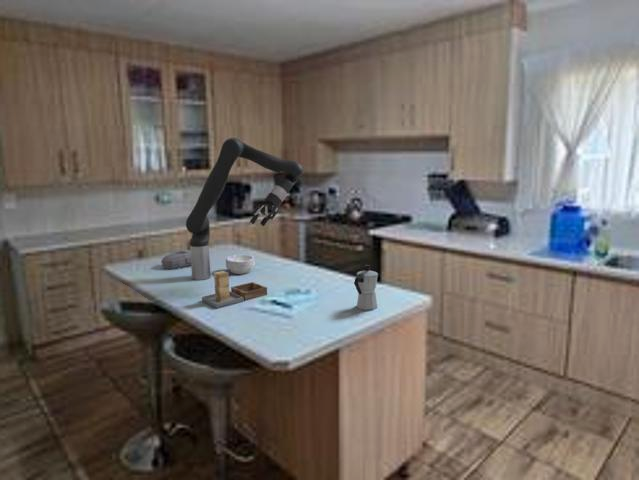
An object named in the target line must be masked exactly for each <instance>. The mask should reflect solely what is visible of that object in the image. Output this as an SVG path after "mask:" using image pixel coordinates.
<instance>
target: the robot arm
mask: <svg viewBox="0 0 639 480" xmlns="http://www.w3.org/2000/svg"><path fill="white" fill-rule="evenodd" d="M238 158H242V159H245V160H248V161H251V162H253V163H255V164H256V165H258V166H260V167H262V168H265V169H267V170H269V171H272V172H274V173H277V174H279V173H284V174H283V176H282V177H281V178H280V179H279V180H278V181H277V183H276V184H275V185H274V187H272V189H271V190H270V191H269V193H267V195H266V196H265V198H264V200H263V201H264V204H261V203H260V204H259V203H258V205H257V206H256V208H255V209H254V210H253V212H252V214H253V216H252V218H251V219H249V223H251V224H252V225H253V224H255V223H256V221H257V220H258V219H259V218H260V217H263V216H264V217H263V218H262V220H261V221H260V223H259V224H260V225H261V226H262V227H265V225H266V224H267V222H268V221H270V220H272V221H273V220H274V218H275V216H276V215H277V214H278V213H279V207H280V206H281V205H282V204H283V202H284V200H285V199H286V197H287V195H288V194H289V193H290V191H291V189H292V188H293V186H294V185H296V183H297V182H298V180H299V179H300V178H301V176H302V174H303V171H304V169H303V166H302V164H300V163H299V162H297V161H294V160H290V159H283V158H281V157H278V156H275V155H272V154H271V153H268V152H264V151H263V150H262V151H261V150H260V149H257V148H254V147H253V146H250V145H248V144H246V143H245V142H244V141H242V140H240V139H239V138H237V137H230V138H227V139H226V140H225V141H224V142H223V144H222V146H221V149H220V151H219V155H218V158H217V160H216V162H215V165H214V166H213V168H212V170H211V171H210V173H209V174H208V176H207V178H206V180H205V183H204V185H203V187H202V190H201V192H200V194H199V196H198V198H197V201H196V203H195V205H194V207H193V208H192V210H191V212H190V213H189V215H188V217H187V218H186V221H185V228H186V230H187V231H188V232H189V233H190V234H192V235H191V238H190V240H189V250H190V251H189V252H190V253H191V266H190V267H191V278H192V280H195V281H203V280H204V281H205V280H209V279H210V278H211V275H212V274H211V260H210V258H211V257H210V248H209V247H210V246H209V245H210V244H209V242H210V235H211V233H210V231H211V230H210V220H209V218H208V214H209V212H210V210H211V209H212V208H213V207H214V206H215V204H216V203H217V202H218V200H219V199H220V198H221V196H222V195H223V191H224V190H225V188H226V186H227V183H228V179H229V176H230V171H231V170H232V167H233V166H234V164H235V162H236V160H237V159H238Z"/></svg>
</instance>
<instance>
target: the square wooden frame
mask: <svg viewBox="0 0 639 480" xmlns="http://www.w3.org/2000/svg"><path fill="white" fill-rule="evenodd" d="M230 292H233V293H235V294H237V295H239V296H242V297H244V302H245V301H249V300H253V299H257V298H261V297H264V296H267V295H268V287H267V286H265V285H262V284H258V283H256V282H253V281H252V282H248V283H243V284H239V285H235V286H231V287H230Z"/></svg>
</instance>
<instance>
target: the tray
mask: <svg viewBox="0 0 639 480" xmlns="http://www.w3.org/2000/svg"><path fill="white" fill-rule="evenodd" d="M229 294H230V300H227V301H223V302H220V301H218V300H216V297H215V293H212V294H208V295H205V296H201V302H203V303H204V304H206V305H209V306H211V307H213V309H217V310H218V309H221V308H225V307H228V306H233V305H237V304H240V303H243V302H245V300H244V297H242V296H239V295H237V294H235V293H233V292H231V290H229Z"/></svg>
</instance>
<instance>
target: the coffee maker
mask: <svg viewBox="0 0 639 480" xmlns="http://www.w3.org/2000/svg"><path fill="white" fill-rule="evenodd" d="M363 266H364V270H361V271H358V272H356V277H355V279H354V283H353V284H354V286H355V289H356V292H357V293H358V296H357V297H358V298H357V302H356V307H357V309H358V310H362V311H374V310H376V309H378V303H377V296H376V294H377V293H376V292H375V290H376V288H377V281H378V277H379V273H378V272H376V271H373V270H371V269H370V268H371V265H370V264H364V265H363Z"/></svg>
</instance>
